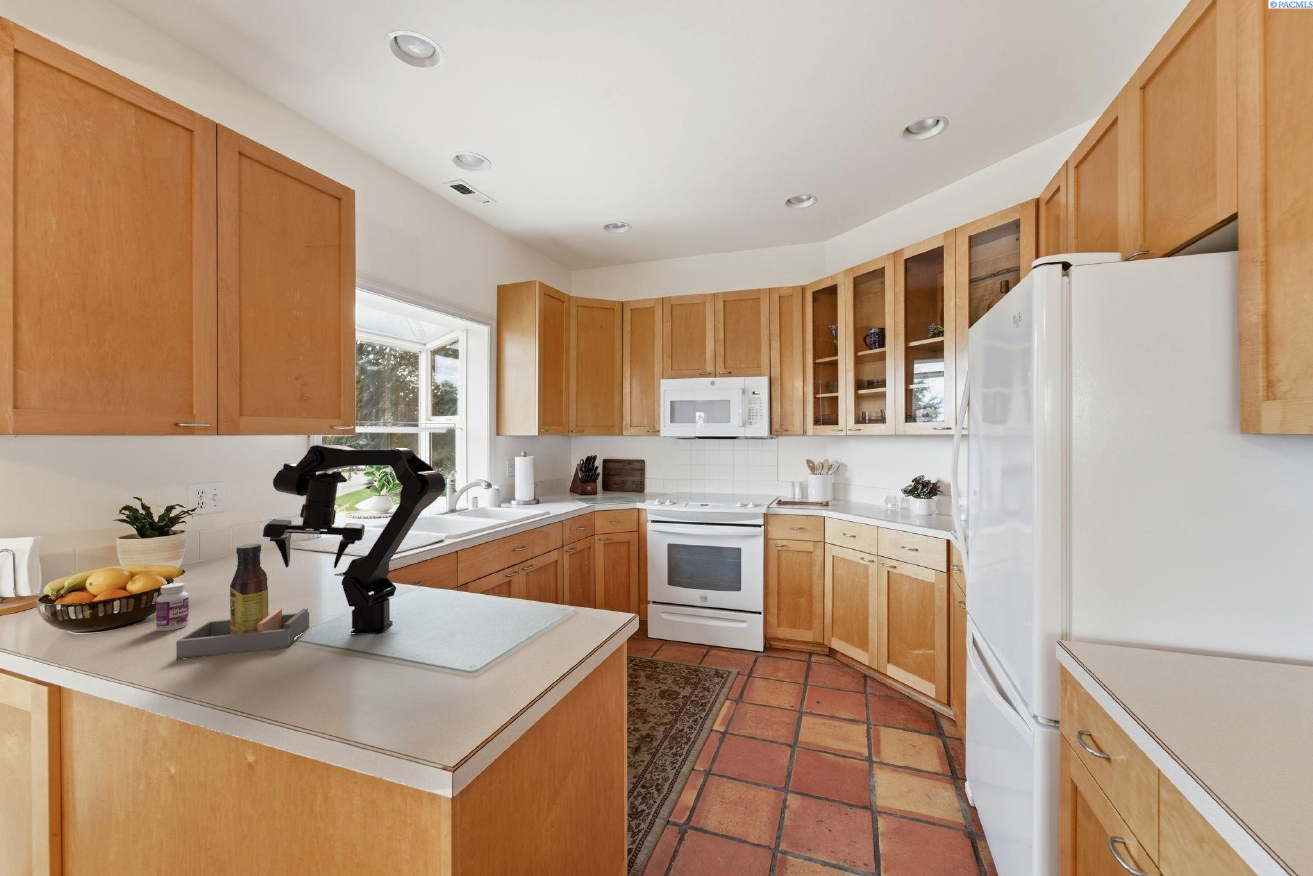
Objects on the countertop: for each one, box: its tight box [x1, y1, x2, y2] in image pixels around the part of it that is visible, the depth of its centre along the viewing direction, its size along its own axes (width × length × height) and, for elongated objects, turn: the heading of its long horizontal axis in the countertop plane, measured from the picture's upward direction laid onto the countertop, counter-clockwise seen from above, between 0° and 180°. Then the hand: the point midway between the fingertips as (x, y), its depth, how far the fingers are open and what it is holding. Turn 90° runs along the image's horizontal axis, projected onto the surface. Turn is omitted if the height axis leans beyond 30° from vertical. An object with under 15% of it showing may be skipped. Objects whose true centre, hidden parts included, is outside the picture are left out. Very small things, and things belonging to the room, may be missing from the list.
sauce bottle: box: [229, 543, 269, 634], centre depth 108 cm, size 6×6×20 cm
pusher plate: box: [257, 608, 283, 632], centre depth 109 cm, size 1×9×4 cm, turn 17°
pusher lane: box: [175, 608, 310, 660], centre depth 107 cm, size 18×12×4 cm, turn 107°
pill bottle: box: [155, 582, 190, 632], centre depth 117 cm, size 5×5×10 cm
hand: (311, 567), depth 117 cm, fingers open, 9 cm apart
